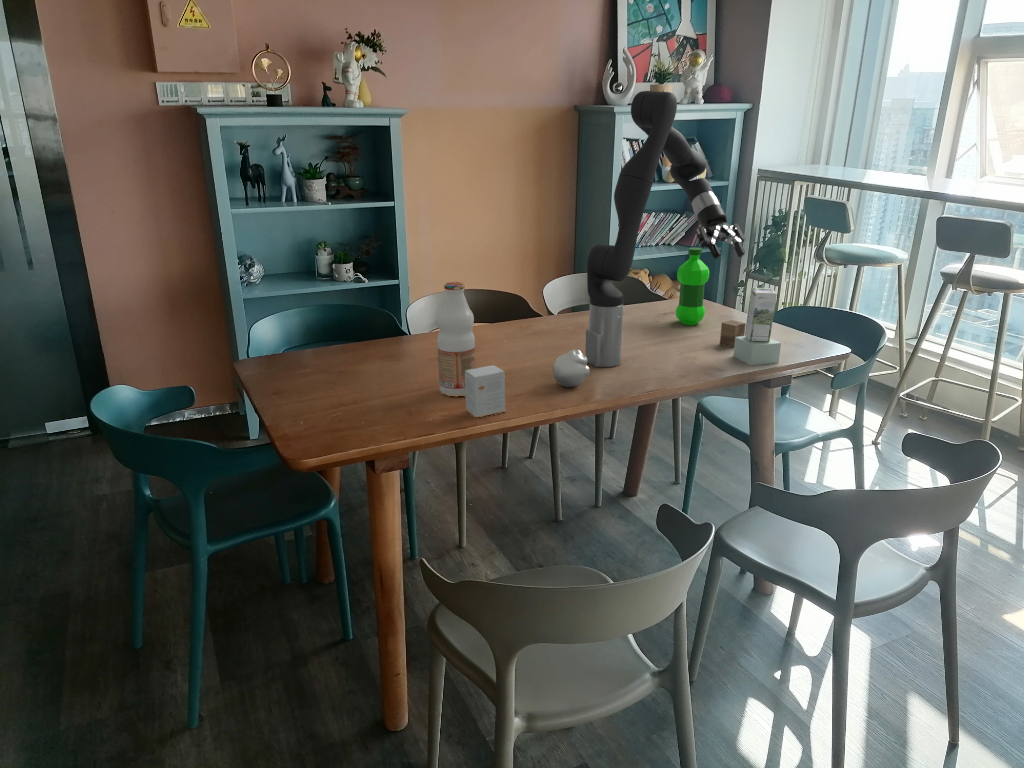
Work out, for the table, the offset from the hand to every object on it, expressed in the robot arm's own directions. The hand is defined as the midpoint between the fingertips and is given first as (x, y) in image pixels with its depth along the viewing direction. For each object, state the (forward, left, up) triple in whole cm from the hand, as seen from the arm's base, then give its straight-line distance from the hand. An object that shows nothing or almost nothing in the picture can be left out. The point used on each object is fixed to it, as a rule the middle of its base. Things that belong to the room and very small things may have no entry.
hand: (730, 256), depth 214 cm
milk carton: (+3, -11, -22) cm, 25 cm away
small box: (-83, -15, -28) cm, 89 cm away
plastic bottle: (+10, +29, -28) cm, 42 cm away
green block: (+3, -11, -28) cm, 31 cm away
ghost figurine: (-56, -8, -28) cm, 63 cm away
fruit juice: (-84, +1, -28) cm, 88 cm away
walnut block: (+6, +3, -28) cm, 29 cm away
